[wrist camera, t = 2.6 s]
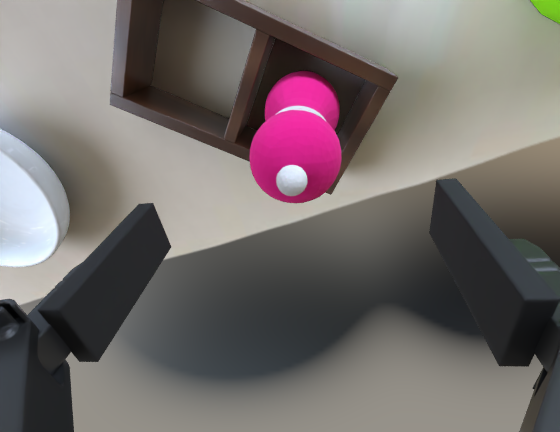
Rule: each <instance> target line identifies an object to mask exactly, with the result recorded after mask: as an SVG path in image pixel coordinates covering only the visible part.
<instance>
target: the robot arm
mask: <svg viewBox="0 0 560 432" xmlns="http://www.w3.org/2000/svg"><path fill="white" fill-rule="evenodd" d="M430 235H431V237H432V239H433V241H434V242H435V244H436V246H437V248H438V250H439V252H440V254H441V256H442V258H443V260H444V262H445V263H446V265H447V267H448V269H449V271H450V273H451V275H452V277H453V279H454V281H455V283H456V285H457V286H458V288H459V290H460V292H461V294H462V296H463V298H464V300H465V302H466V304H467V306H468V307H469V309H470V311H471V313H472V315H473V317H474V319H475V321H476V323H477V325H478V327H479V329H480V330H481V332H482V334H483V336H484V338H485V340H486V342H487V344H488V346H489V348H490V350H491V351H492V353H493V355H494V357H495V359H496V361H497V363H498V364H499V366H529V364H530V362H531V360H532V358H533V356H534V354H535V355H536V356H537V358H538V359H539V361H540V362H541V364H542V365H543V369H542V371H541V373H540V375H539V377H538V379H537V381H536V383H535V385H534V387H533V389H535V390H534V393H533V395H532V398H531V401H530V404H529V407H528V409H527V412H526V415H525V417H524V420H523V423H522V426H521V429H520V431H519V432H560V268H559V267H558V266H557V265H556V264H555V263H554V262H553V261H551V259H550V258H549V257H548V256H547V255H546V254H545V253H544V251H542V249H541V248H539V247H538V246H536V245H534V244H532V243H530V242H529V241H527V240H525V239H508V238H507V237H506V236H505V235H504V233H503V232H502V231H501V230H500V229H499V227H498V226H497V225H496V224H495V223H494V222H493V221H492V220H491V218H490V217H489V216H488V215H487V214H486V213H485V212H484V210H483V209H482V208H481V207H480V206H479V205H478V203H477V202H476V201H475V200H474V199H473V198H472V196H471V195H470V194H469V193H468V192H467V191H466V190H465V188H464V187H463V186H462V185H461V184H460V183H459V181H458V180H457V179H444V180H436V188H435V195H434V203H433V210H432V217H431V225H430ZM170 248H171V245H170V243H169V240H168V238H167V236H166V233H165V231H164V228H163V226H162V224H161V221H160V219H159V216H158V214H157V212H156V209H155V207H154V204H153V203H146V204H138V205H137V207H136V208H135V209H134V210H133V211H132V212H131V213H130V214H129V215H128V216H127V217H126V218H125V219H124V220H123V221H122V222H121V223H120V224H119V225H118V226H117V227H116V228H115V229H114V230H113V232H112V233H111V234H110V235H109V236H108V237H107V238H106V239H105V240H104V241H103V242H102V243H101V244H100V245H99V246H98V247H97V248H96V249H95V250H94V251H93V252H92V253H91V254H90V255H89V257H88V258H87V259H86V260H85V261H84V262H82V263H81V264H79V265H78V266H77V267H75V268H74V269H72V270H71V271H70V272H69V273H68V274H67V275H66V276H65V277H64V278H63V281H60V282H59V283H58V284H57V285H56V286H55V289H53V290H52V291H51V292H50V293H49V294H48V295H47V296H46V297H45V298H44V299H43V300H42V301H41V302H40V303H39V304H38V305H37V306H36V307H35V308H34V309H33V310H32V311H31V312H30V313H29V314H28V315H26V313H25V312H24V311H23V310H22V309H21V308H20V306H19V305H18V304H17V303H16V302H15V301H14V300H12V299H5V300H0V432H74V426H73V412H72V397H71V382H70V367H69V365H68V363H67V361H66V360H65V359H66V358H67V356H68V355H69V354H70V352H72V353H73V354H74V356H75V357H76V358H77V359H78V360H79V362H85V361H86V362H98V361H99V359H100V358H101V356H102V355H103V353H104V352H105V350H106V348H107V347H108V345H109V344H110V342H111V341H112V339H113V338H114V336H115V334H116V333H117V331H118V330H119V328H120V327H121V325H122V323H123V322H124V320H125V319H126V317H127V316H128V314H129V312H130V311H131V309H132V307H133V306H134V305H135V303H136V301H137V300H138V298H139V297H140V295H141V294H142V292H143V290H144V289H145V287H146V286H147V284H148V283H149V281H150V280H151V278H152V276H153V275H154V273H155V272H156V270H157V269H158V267H159V265H160V264H161V262H162V261H163V259H164V258H165V256H166V254H167V253H168V251H169V250H170Z"/></svg>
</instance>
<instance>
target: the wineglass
mask: <svg viewBox="0 0 560 432" xmlns="http://www.w3.org/2000/svg"><path fill="white" fill-rule="evenodd" d="M530 1H531V2H532V3H533V5H534V6H535V7H536V8H537V10H538V11H539V12H540V13H541V14H542V15H544V16H546V17H548V18H550V19H551V20H553V21H555V22H557V23H559V24H560V0H530Z"/></svg>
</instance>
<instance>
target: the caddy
mask: <svg viewBox="0 0 560 432" xmlns="http://www.w3.org/2000/svg"><path fill="white" fill-rule="evenodd" d="M195 1H198V2H200V3H202V4H204V5H206V6H208V7H211V8H213V9H215V10H217V11H219V12H221V13H223V14H226V15H228V16H230V17H232V18H234V19H236V20H238V21H241V22H243V23H245V24H247V25H249V26H251V27H253V28H256V32H255V35H254V38H253V42H252V45H251V48H250V52H249V55H248V58H247V62H246V65H245V68H244V72H243V75H242V78H241V82H240V85H239V88H238V92H237V95H236V98H235V102H234V105H233V108H232V112H231V115H230V118H226V117H224V116H222V115H219V114H217V113H214V112H212V111H210V110H207V109H205V108H203V107H200V106H198V105H196V104H193V103H191V102H188V101H186V100H184V99H181V98H179V97H177V96H174V95H172V94H169V93H167V92H165V91H162V90H160V89H158V88H155V87H153V86H151V83H152V76H153V69H154V62H155V55H156V48H157V41H158V34H159V27H160V21H161V14H162V7H163V0H117V12H116V25H115V39H114V53H113V67H112V80H111V94H110V105H112V106H115V107H117V108H120V109H122V110H124V111H127V112H129V113H132V114H134V115H137V116H139V117H142V118H144V119H147V120H149V121H152V122H154V123H156V124H159V125H161V126H164V127H166V128H169V129H171V130H174V131H176V132H179V133H181V134H183V135H186V136H188V137H191V138H193V139H196V140H198V141H201V142H203V143H206V144H208V145H210V146H213V147H215V148H218V149H220V150H223V151H225V152H228V153H230V154H233V155H235V156H237V157H240V158H242V159H245V160H247V161H250V159H249V158H250V147H251V143H252V140H253V138H254V136H255V134H256V132H257V130H255V129H252V128H250V127H248V126H246V124H247V121H248V118H249V115H250V112H251V110H252V107H253V104H254V101H255V98H256V95H257V92H258V89H259V86H260V83H261V80H262V77H263V74H264V71H265V68H266V65H267V62H268V59H269V56H270V53H271V50H272V47H273V44H274V41H275V38H277V39H279V40H281V41H283V42H286V43H288V44H290V45H292V46H294V47H296V48H298V49H301V50H303V51H305V52H307V53H309V54H311V55H314V56H316V57H318V58H320V59H322V60H324V61H326V62H329V63H331V64H333V65H335V66H337V67H339V68H341V69H344V70H346V71H348V72H350V73H352V74H354V75H356V76H359V77H361V78H363V79H365V82H364V84H363V86H362V88H361V90H360V92H359V94H358V96H357V98H356V100H355V102H354V104H353V106H352V107H351V109H350V111H349V113H348V115H347V117H346V119H345V121H344V123H343V125H342V127H341V129H340V131H339V132H338V134H337V137H338V139H339V142H340V147H341V165H340V170H339V173H338V175H337V177H336V179H335V181H334V183H333V184H332V185H331V186H330V188H329V189H328V190H327V191H326V193H328V194H332V192H333V191H334V189H335V187H336V185H337V184H338V182H339V180H340V178H341V177H342V175H343V173H344V171H345V170H346V168H347V166H348V164H349V163H350V161H351V159H352V157H353V156H354V154H355V152H356V150H357V149H358V147H359V145H360V144H361V142H362V140H363V138H364V137H365V135H366V133H367V131H368V130H369V128H370V126H371V124H372V123H373V121H374V119H375V117H376V116H377V114H378V112H379V110H380V109H381V107H382V105H383V103H384V102H385V100H386V98H387V96H388V95H389V93H390V91H391V90H392V88H393V86H394V84H395V83H396V81H397V79H398V77H397V76H396V75H394V74H393V73H392V72H390V71H389V70H388V69H386V68H385V67H383V66H381V65H379V64H377V63H375V62H372V61H370V60H368V59H366V58H364V57H362V56H360V55H358V54H356V53H354V52H351V51H349V50H347V49H345V48H343V47H341V46H339V45H337V44H335V43H333V42H330V41H328V40H326V39H324V38H322V37H320V36H318V35H316V34H314V33H312V32H309V31H307V30H305V29H303V28H301V27H299V26H297V25H295V24H293V23H291V22H288V21H286V20H284V19H282V18H280V17H278V16H276V15H274V14H272V13H269V12H267V11H265V10H263V9H261V8H259V7H257V6H255V5H253V4H251V3H248V2H246V1H244V0H195Z"/></svg>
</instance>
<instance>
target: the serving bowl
mask: <svg viewBox="0 0 560 432" xmlns="http://www.w3.org/2000/svg"><path fill="white" fill-rule="evenodd" d="M69 221H70V209H69V203H68V199H67V195H66V193H65V190H64V188H63V186H62V184H61V182H60V180H59V179H58V177H57V175H56V174H55V173H54V171H53V170H52V169H51V167H50V166H49V165H48V164H47V163H46V162H45V161H44V159H43V158H42V157H41V156H39V155H38V154H37V153H36V152H35V151H34V150H33V149H31V148H30V147H29V146H28V145H26V144H25V143H23V142H22V141H21V140H19V139H18V138H16V137H14V136H13V135H11V134H9V133H7V132H5V131H4V130H1V129H0V266H7V267H28V266H33V265H37V264H39V263H42V262H44V261H45V260H47V259H48V258H50V257H51V256H52V255H53V254H54V253H55V251H56V250H57V249H58V247H59V246H60V244H61V243H62V241H63V240H64V238H65V236H66V233H67V230H68V227H69Z"/></svg>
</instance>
